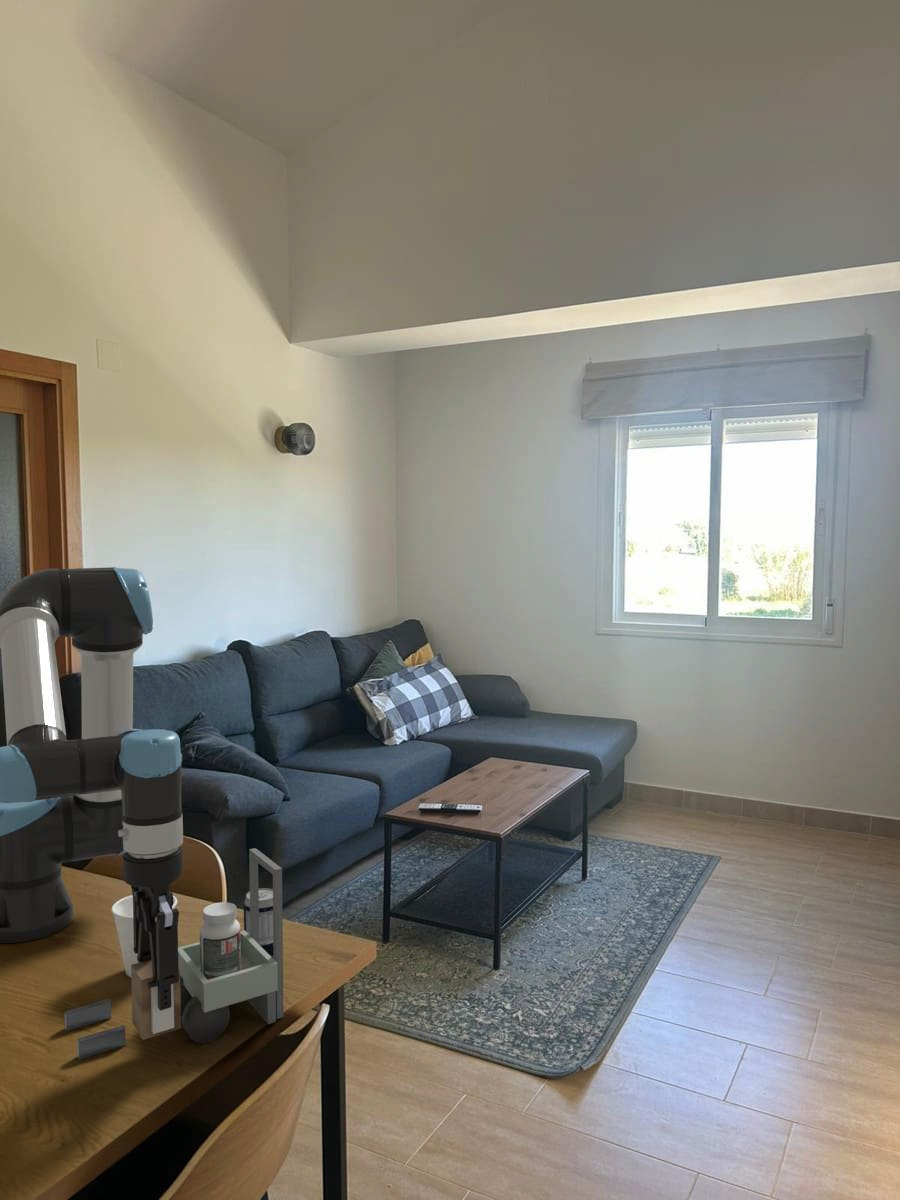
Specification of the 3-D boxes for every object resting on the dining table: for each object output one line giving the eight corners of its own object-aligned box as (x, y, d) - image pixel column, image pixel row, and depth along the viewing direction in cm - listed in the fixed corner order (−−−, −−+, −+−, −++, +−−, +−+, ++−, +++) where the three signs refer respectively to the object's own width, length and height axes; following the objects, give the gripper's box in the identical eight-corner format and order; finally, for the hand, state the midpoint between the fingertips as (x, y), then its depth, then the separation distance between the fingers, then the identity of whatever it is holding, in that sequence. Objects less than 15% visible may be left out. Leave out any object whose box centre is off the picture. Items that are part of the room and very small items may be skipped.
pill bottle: (249, 975, 127) (248, 908, 126) (214, 990, 122) (213, 921, 122) (226, 962, 130) (225, 897, 130) (192, 976, 126) (191, 909, 126)
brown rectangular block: (169, 1011, 120) (168, 955, 120) (181, 1028, 116) (180, 969, 116) (132, 1022, 118) (131, 964, 117) (142, 1040, 114) (141, 980, 113)
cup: (158, 989, 134) (156, 919, 133) (99, 983, 136) (98, 914, 135) (189, 959, 144) (188, 894, 143) (135, 953, 146) (133, 889, 145)
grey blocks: (65, 1027, 124) (64, 1011, 123) (109, 1015, 127) (109, 999, 127) (78, 1059, 116) (78, 1042, 116) (125, 1045, 119) (125, 1028, 119)
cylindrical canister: (287, 965, 142) (286, 893, 141) (259, 978, 138) (258, 904, 137) (265, 954, 146) (264, 884, 145) (237, 967, 141) (236, 895, 140)
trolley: (162, 1011, 128) (159, 864, 127) (254, 984, 136) (252, 845, 134) (190, 1053, 118) (187, 893, 116) (287, 1021, 125) (285, 871, 124)
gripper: (106, 835, 121) (111, 999, 122) (142, 876, 106) (146, 1062, 107) (161, 825, 125) (165, 983, 127) (203, 863, 110) (206, 1042, 112)
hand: (156, 1019), depth 117 cm, fingers closed on brown rectangular block, 5 cm apart
